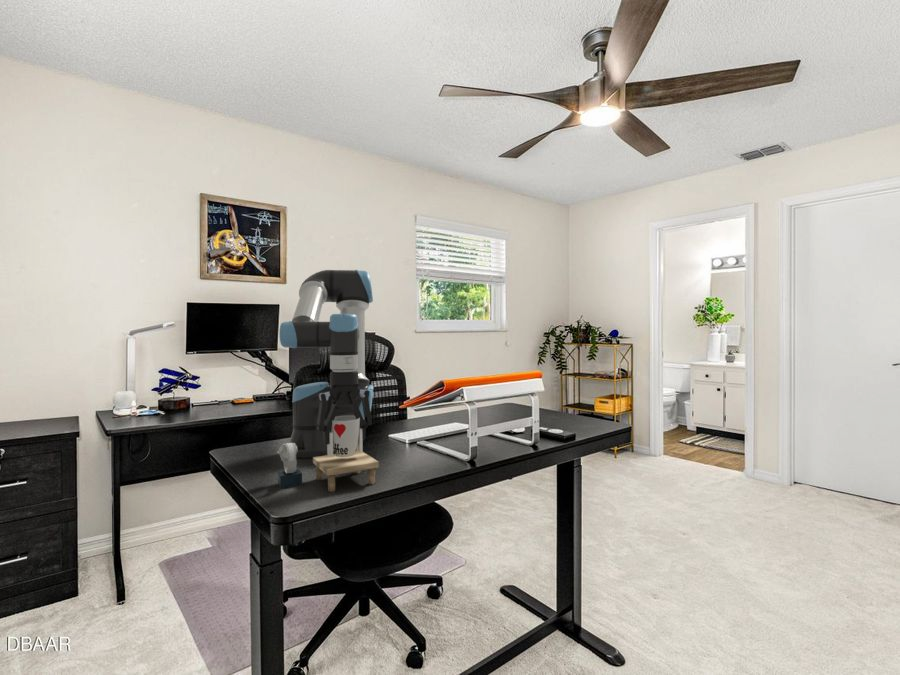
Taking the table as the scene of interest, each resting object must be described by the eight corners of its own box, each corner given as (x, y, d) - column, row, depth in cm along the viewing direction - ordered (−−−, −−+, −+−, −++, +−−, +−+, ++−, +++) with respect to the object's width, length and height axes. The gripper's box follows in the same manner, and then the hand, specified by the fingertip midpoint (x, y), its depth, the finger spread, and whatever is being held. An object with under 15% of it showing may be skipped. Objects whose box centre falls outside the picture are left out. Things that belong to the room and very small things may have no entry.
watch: (297, 478, 134) (297, 439, 134) (303, 486, 127) (302, 445, 127) (276, 481, 131) (276, 441, 131) (281, 490, 124) (280, 448, 124)
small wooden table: (313, 478, 134) (312, 457, 133) (360, 470, 141) (360, 450, 141) (327, 493, 122) (327, 470, 121) (379, 484, 129) (378, 461, 129)
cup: (324, 455, 130) (323, 418, 130) (347, 449, 137) (347, 414, 136) (342, 460, 125) (342, 422, 125) (366, 453, 132) (366, 417, 131)
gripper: (310, 373, 122) (311, 462, 123) (384, 369, 133) (385, 451, 133) (302, 371, 129) (303, 455, 129) (374, 367, 139) (375, 445, 139)
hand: (345, 453), depth 131 cm, fingers closed on cup, 8 cm apart
